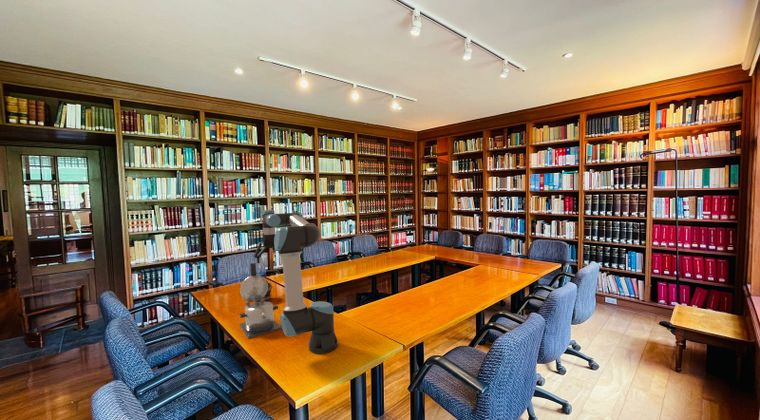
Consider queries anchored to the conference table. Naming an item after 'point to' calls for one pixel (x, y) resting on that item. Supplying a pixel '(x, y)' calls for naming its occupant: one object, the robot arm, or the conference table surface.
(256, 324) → the cooker
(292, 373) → the conference table surface
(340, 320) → the conference table surface
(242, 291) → the lid
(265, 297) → the flowerpot
